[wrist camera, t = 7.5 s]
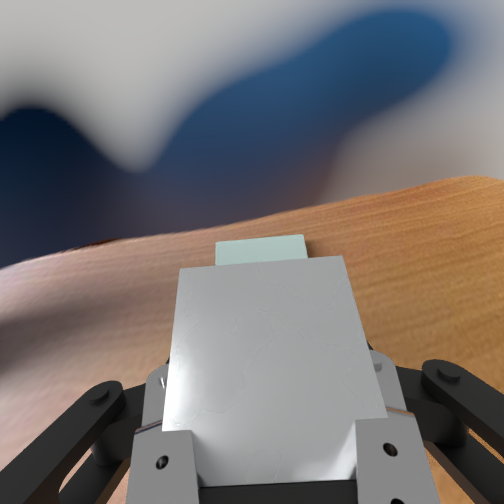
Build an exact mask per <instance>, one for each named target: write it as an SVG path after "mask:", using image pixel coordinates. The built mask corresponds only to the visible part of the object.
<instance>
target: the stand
mask: <svg viewBox="0 0 504 504" xmlns="http://www.w3.org/2000/svg"><path fill="white" fill-rule="evenodd" d="M303 258H308V256H307V251H306V246H305V241H304V236H303V234H298V235H287V236H276V237H265V238H255V239H244V240H233V241H223V242H216V258H215V266H217V265H229V264H241V263H254V262H266V261H278V260H291V259H303Z"/></svg>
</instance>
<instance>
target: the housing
mask: <svg viewBox="0 0 504 504" xmlns="http://www.w3.org/2000/svg"><path fill="white" fill-rule="evenodd" d="M375 418H388V415H387V412H386V408H385V405H384V401H383V398H382V394H381V391H380V387H379V384H378V380H377V376H376V373H375V369H374V366H373V362H372V359H371V355H370V352H369V348H368V345H367V341H366V338H365V334H364V330H363V327H362V323H361V320H360V316H359V313H358V309H357V306H356V302H355V299H354V295H353V292H352V288H351V285H350V281H349V277H348V274H347V270H346V267H345V263H344V260H343V256H342V255H340V256H327V257H315V258H303V259H291V260H278V261H266V262H254V263H241V264H229V265H217V266H204V267H192V268H180V271H179V280H178V289H177V298H176V307H175V316H174V325H173V335H172V344H171V353H170V362H169V371H168V380H167V389H166V398H165V408H164V417H163V426H162V431H177V430H191V434H192V441H193V447H194V454H195V460H196V467H197V474H198V482H199V487H209V486H229V485H250V484H270V483H290V482H310V481H331V480H351V479H356V459H355V420H358V419H375Z"/></svg>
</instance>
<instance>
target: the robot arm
mask: <svg viewBox="0 0 504 504" xmlns="http://www.w3.org/2000/svg"><path fill="white" fill-rule="evenodd" d="M366 341H367V340H366ZM367 345H368V348H369V352H370V355H371V359H372V362H373V366H374V369H375V373H376V376H377V380H378V384H379V387H380V391H381V394H382V398H383V401H384V405H385V408H386V412H387V415H388V418H375V419H358V420H355V459H356V479H351V480H331V481H310V482H290V483H270V484H250V485H229V486H209V487H199V482H198V474H197V467H196V460H195V454H194V447H193V441H192V434H191V430H177V431H162V426H163V417H164V408H165V398H166V389H167V380H168V371H169V362H170V356H169V358H168V360H167V362H166V364H165V365H162V366H160V367H159V368H157V369H155V370H154V371H153V372H152V373H151V374H150V375H149V377H148V378H147V381H146V383H144V384H142V385H139V386H136V387H132V388H129V389H126V390H123V387H122V384H121V383H120V382H118V381H106V382H103V383H100V384H98V385H96V386H94V387H93V388H91V389H90V390H88V391H87V392H86V393H84V394H83V395H82V396H81V397H80V398H79V399H78V400H77V401H76V402H75V403H74V404H73V405H72V406H70V407H69V408H68V409H67V410H66V411H65V412H64V413H63V414H62V415H61V416H60V417H59V418H58V419H56V420H55V421H54V422H53V423H52V424H51V425H50V426H49V427H48V428H47V429H46V430H45V431H44V432H43V433H41V434H40V435H39V436H38V437H37V438H36V439H35V440H34V441H33V442H32V443H31V444H30V445H29V446H27V447H26V448H25V449H24V450H23V451H22V452H21V453H20V454H19V455H18V456H17V457H16V458H15V459H13V460H12V461H11V462H10V463H9V464H8V465H7V466H6V467H5V468H4V469H3V470H2V471H1V472H0V504H106V503H107V502H108V500H109V499H110V497H111V495H112V494H113V492H114V491H115V489H116V488H117V486H118V485H119V483H120V481H121V480H122V478H123V477H124V475H125V474H126V472H127V470H128V469H129V467H130V473H129V481H128V488H127V496H126V504H441V503H440V500H439V497H438V493H437V490H436V486H435V483H434V479H433V476H432V473H431V469H430V466H429V462H428V459H427V455H426V452H425V449H424V447H425V448H426V449H427V450H428V451H429V452H430V454H431V455H432V456H433V457H434V458H435V459H436V460H437V461H438V463H439V464H440V465H441V466H442V467H443V468H444V469H445V470H446V472H447V473H448V474H449V475H450V476H451V477H452V478H453V479H454V480H455V482H456V483H457V484H458V485H459V486H460V487H461V488H462V489H463V491H464V492H465V493H466V494H467V495H468V496H469V497H470V498H471V500H472V501H473V502H474V503H475V504H504V464H503V463H502V462H501V461H500V460H499V459H497V458H496V457H495V456H494V455H493V454H492V453H491V452H489V451H488V450H487V449H486V448H485V447H484V446H483V445H482V444H480V443H479V442H478V441H477V440H476V439H475V438H474V437H473V436H471V435H470V434H469V433H468V432H469V428H470V429H472V430H473V431H474V432H475V433H476V434H477V435H478V436H480V437H481V438H482V439H483V440H484V441H485V442H487V443H488V444H489V445H490V446H491V447H492V448H494V449H495V450H496V451H497V452H498V453H499V454H500V455H501V456H502V457H503V458H504V395H503V394H502V393H500V392H499V391H497V390H496V389H494V388H493V387H491V386H490V385H488V384H487V383H485V382H484V381H482V380H481V379H479V378H477V377H476V376H474V375H473V374H471V373H470V372H468V371H467V370H465V369H464V368H462V367H460V366H458V365H456V364H454V363H451V362H448V361H444V360H436V359H433V360H428V361H425V362H424V363H423V365H422V371H421V370H415V369H408V368H403V367H398V366H395V364H394V362H393V361H392V360H391V359H390V358H389V357H388V356H386V355H385V354H383V353H380V352H378V351H375V350H373V348H372V347H371V346H370V344H369V343H368V342H367ZM89 448H91V451H92V453H91V454H90V456H89V457H88V458H87V459H86V460H85V462H84V463H83V464H82V465H81V467H80V468H79V469H78V470H77V472H76V473H75V474H74V475H73V476H72V478H71V479H70V480H69V481H68V483H67V484H66V485H65V486H64V488H63V489H62V490H61V491H60V492H59V489H60V486H61V484H62V482H63V480H64V479H65V477H66V476H67V474H68V473H69V472H70V471H71V469H72V468H73V467H74V466H75V465H76V463H77V462H78V461H79V460H80V459H81V457H82V456H83V455H84V454H85V453H86V452H87V450H88V449H89Z"/></svg>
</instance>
